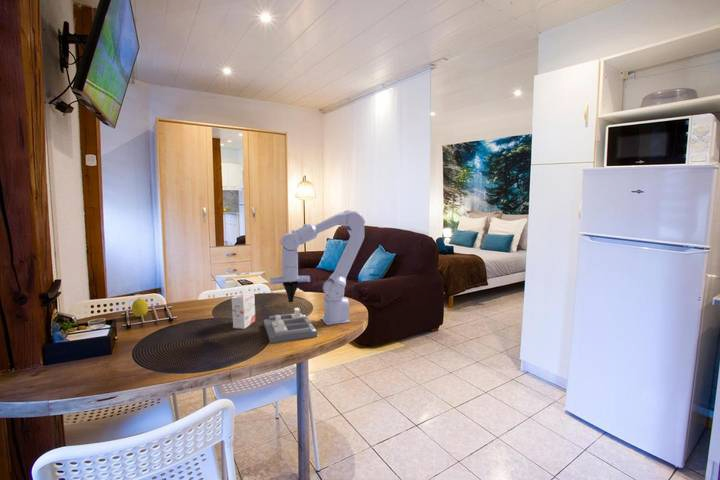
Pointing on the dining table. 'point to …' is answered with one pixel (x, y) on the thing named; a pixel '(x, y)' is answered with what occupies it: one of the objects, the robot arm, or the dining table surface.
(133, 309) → the lemon
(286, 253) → the robot arm
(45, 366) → the dining table surface
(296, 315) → the tab
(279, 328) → the tab
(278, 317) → the tab
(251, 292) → the ink cartridge box
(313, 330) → the switch panel
